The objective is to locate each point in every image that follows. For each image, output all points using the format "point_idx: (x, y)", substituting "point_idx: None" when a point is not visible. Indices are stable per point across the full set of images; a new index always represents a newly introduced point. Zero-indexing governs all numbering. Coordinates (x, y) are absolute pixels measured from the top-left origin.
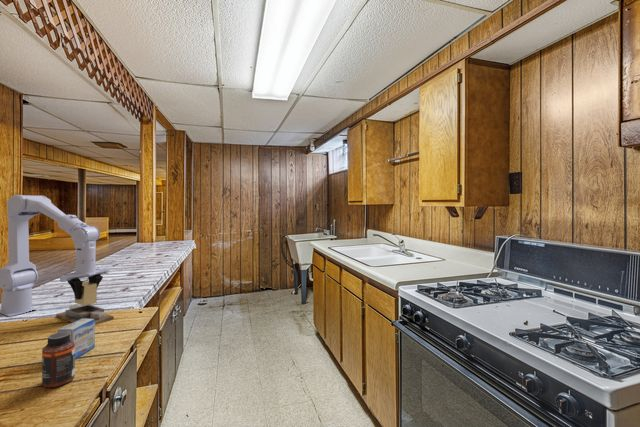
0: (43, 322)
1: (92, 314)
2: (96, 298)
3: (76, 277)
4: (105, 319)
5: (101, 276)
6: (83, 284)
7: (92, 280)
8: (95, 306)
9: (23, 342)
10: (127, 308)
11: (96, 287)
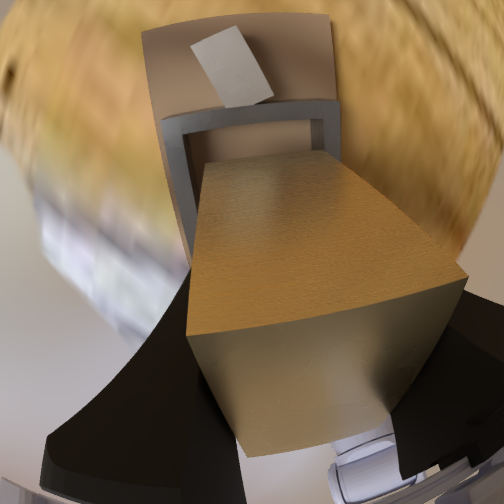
0: None
1: (263, 78)
2: (203, 179)
3: (479, 466)
4: (200, 20)
5: (58, 495)
6: (386, 379)
7: (223, 455)
8: (186, 229)
9: (490, 107)
10: (37, 185)
11: (195, 264)
